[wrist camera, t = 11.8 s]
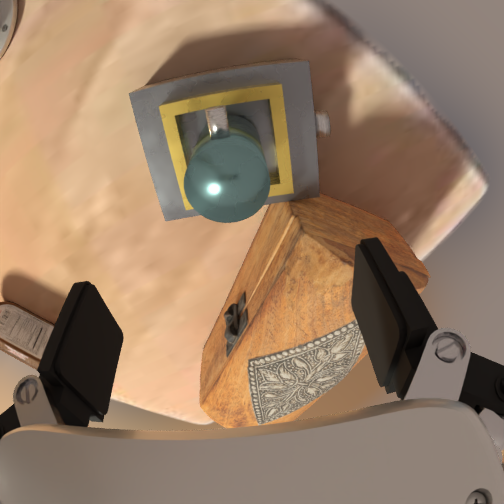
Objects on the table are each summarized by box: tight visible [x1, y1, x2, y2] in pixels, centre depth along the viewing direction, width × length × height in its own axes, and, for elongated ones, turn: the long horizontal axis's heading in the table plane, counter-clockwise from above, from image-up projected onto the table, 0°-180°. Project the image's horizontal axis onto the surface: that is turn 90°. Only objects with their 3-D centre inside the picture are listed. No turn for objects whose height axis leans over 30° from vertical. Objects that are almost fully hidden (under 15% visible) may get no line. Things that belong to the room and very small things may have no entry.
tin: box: [0, 302, 55, 370], centre depth 39 cm, size 15×3×8 cm, turn 55°
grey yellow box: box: [129, 59, 330, 221], centre depth 26 cm, size 12×16×6 cm
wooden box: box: [200, 193, 430, 428], centre depth 36 cm, size 30×16×14 cm, turn 158°
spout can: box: [184, 105, 270, 223], centre depth 21 cm, size 7×5×8 cm
